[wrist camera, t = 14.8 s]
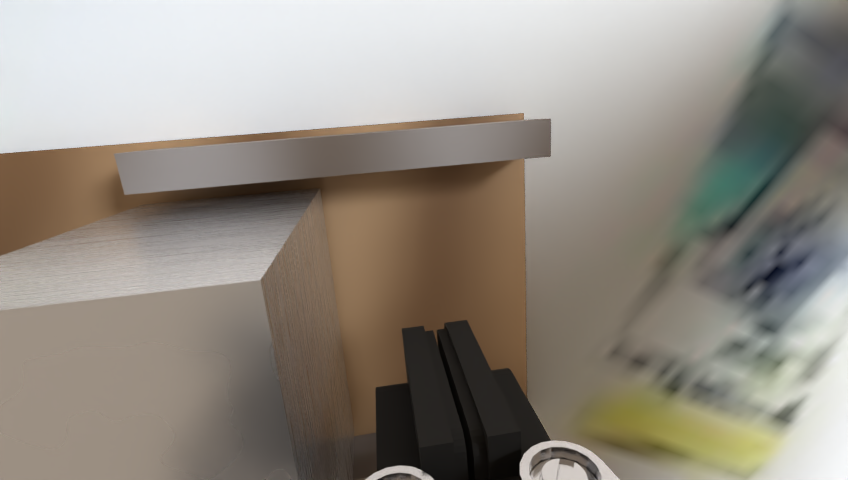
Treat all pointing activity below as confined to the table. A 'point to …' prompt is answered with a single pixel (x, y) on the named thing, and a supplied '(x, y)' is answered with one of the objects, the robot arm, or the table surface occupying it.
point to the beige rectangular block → (177, 347)
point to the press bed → (338, 224)
